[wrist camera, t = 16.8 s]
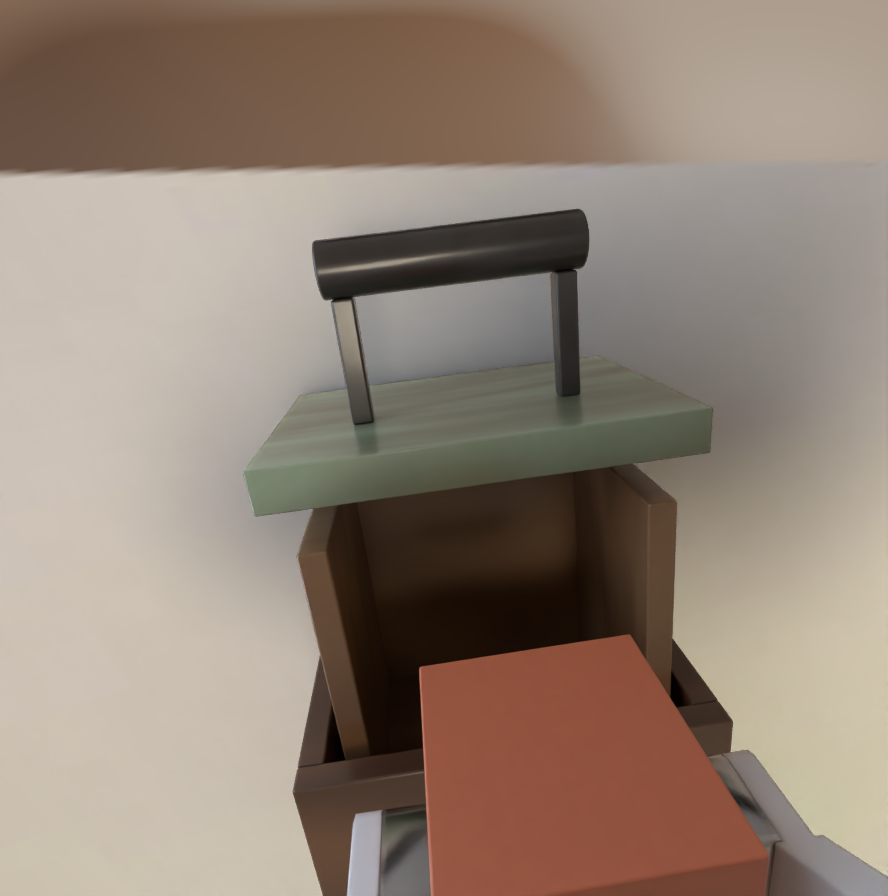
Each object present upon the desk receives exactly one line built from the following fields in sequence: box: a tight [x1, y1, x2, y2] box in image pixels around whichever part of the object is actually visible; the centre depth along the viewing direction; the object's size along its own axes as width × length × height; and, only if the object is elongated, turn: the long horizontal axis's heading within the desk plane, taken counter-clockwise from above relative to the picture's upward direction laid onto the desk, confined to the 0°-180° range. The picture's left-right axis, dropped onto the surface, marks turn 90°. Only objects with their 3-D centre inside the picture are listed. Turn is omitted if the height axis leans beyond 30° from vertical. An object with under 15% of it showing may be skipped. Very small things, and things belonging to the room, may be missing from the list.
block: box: [419, 634, 770, 896], centre depth 10 cm, size 4×4×4 cm
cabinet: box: [293, 638, 733, 896], centre depth 22 cm, size 15×13×10 cm
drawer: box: [243, 209, 713, 760], centre depth 18 cm, size 18×11×8 cm, turn 7°
